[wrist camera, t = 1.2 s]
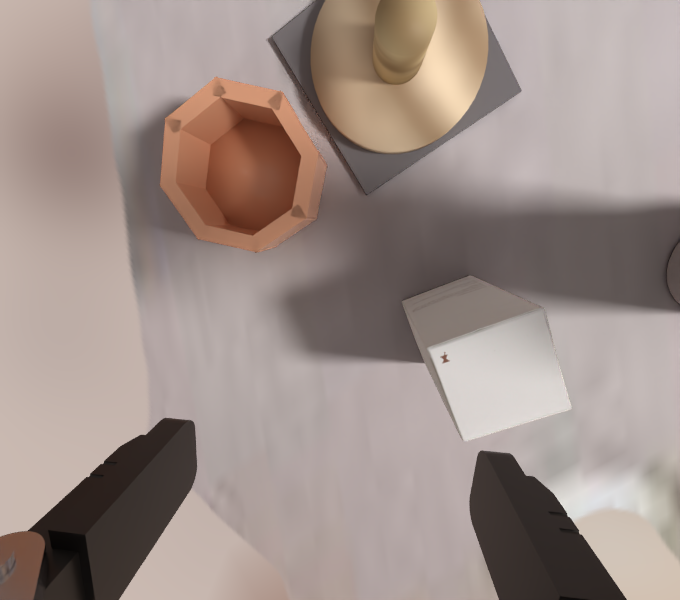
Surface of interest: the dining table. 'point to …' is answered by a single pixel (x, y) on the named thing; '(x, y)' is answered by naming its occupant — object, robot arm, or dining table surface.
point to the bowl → (241, 166)
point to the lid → (398, 68)
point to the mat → (381, 166)
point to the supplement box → (487, 356)
